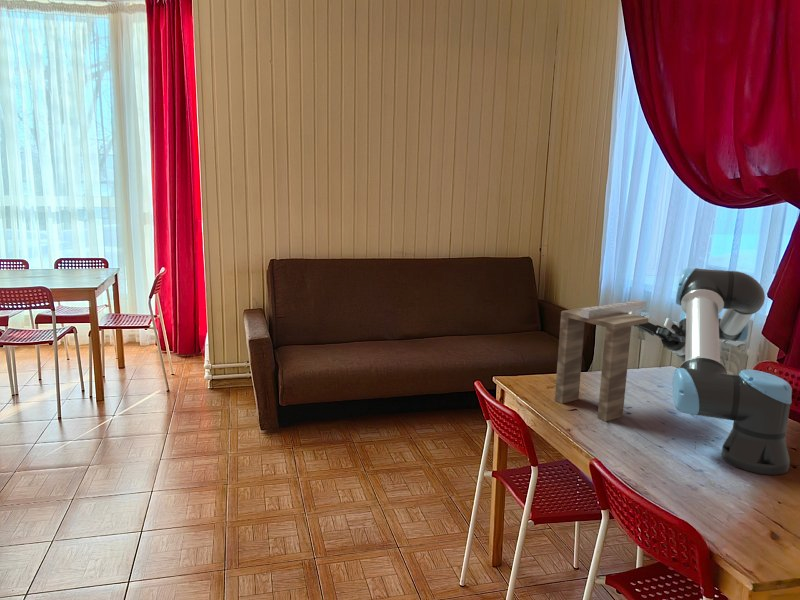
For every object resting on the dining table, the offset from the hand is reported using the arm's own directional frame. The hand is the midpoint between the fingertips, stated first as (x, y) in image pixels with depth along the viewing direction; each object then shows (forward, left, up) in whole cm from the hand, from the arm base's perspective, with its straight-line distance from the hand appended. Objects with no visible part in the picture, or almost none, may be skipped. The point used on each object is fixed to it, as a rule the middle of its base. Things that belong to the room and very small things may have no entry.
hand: (647, 317), depth 199 cm
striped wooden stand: (0, +23, -26) cm, 35 cm away
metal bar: (0, +18, +4) cm, 18 cm away
